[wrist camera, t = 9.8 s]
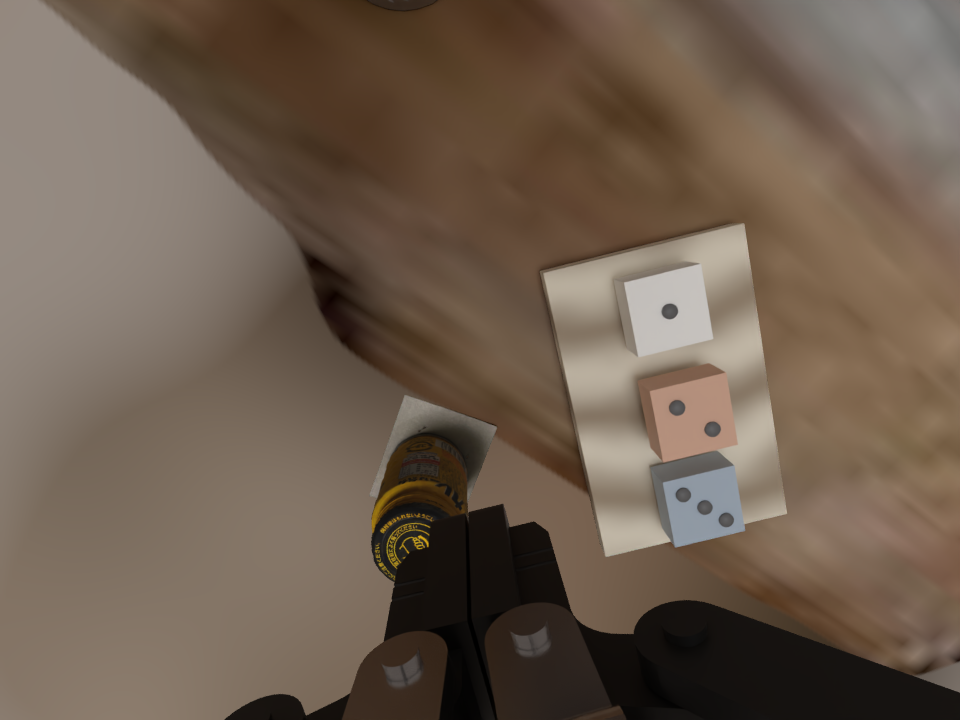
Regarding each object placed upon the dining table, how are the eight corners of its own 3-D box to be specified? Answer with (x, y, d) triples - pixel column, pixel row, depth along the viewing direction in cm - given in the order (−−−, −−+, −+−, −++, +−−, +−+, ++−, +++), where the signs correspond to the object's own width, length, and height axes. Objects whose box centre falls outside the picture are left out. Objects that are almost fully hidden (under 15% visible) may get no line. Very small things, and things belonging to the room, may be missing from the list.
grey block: (650, 467, 45) (663, 483, 42) (717, 450, 45) (735, 466, 42) (662, 528, 46) (676, 548, 43) (728, 512, 46) (746, 532, 43)
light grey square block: (613, 279, 42) (624, 282, 39) (685, 261, 42) (702, 263, 39) (627, 349, 43) (639, 357, 40) (697, 332, 43) (714, 339, 40)
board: (539, 271, 44) (546, 274, 41) (731, 223, 44) (755, 222, 40) (599, 543, 49) (610, 568, 45) (773, 502, 49) (798, 523, 45)
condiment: (369, 494, 47) (340, 582, 36) (405, 394, 46) (386, 451, 34) (459, 523, 48) (459, 618, 36) (497, 425, 47) (510, 492, 35)
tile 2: (637, 380, 42) (650, 391, 39) (708, 363, 42) (727, 373, 39) (650, 447, 43) (664, 463, 40) (720, 430, 43) (739, 445, 40)
